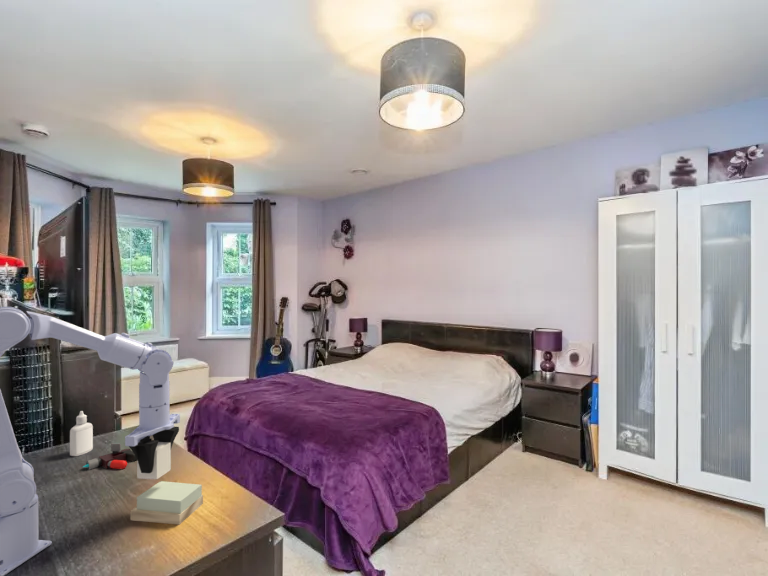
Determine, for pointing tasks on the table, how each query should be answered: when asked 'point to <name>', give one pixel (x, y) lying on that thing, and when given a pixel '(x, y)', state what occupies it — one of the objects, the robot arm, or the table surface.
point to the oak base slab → (164, 514)
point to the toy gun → (113, 458)
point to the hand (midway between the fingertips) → (154, 467)
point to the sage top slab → (169, 497)
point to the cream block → (158, 462)
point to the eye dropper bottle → (81, 436)
